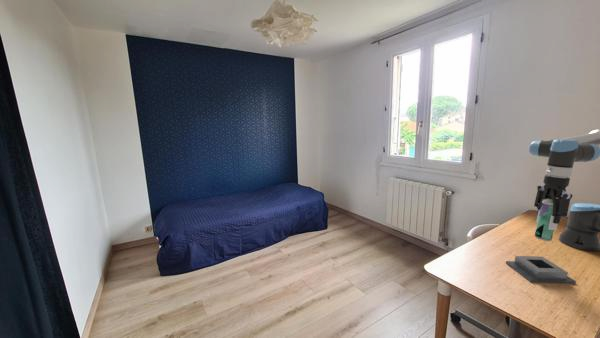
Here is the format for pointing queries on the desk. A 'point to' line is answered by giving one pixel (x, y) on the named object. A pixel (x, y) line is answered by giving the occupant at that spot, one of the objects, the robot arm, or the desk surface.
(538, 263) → the collar
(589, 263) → the desk surface
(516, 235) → the desk surface
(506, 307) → the desk surface
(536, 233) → the spray can
